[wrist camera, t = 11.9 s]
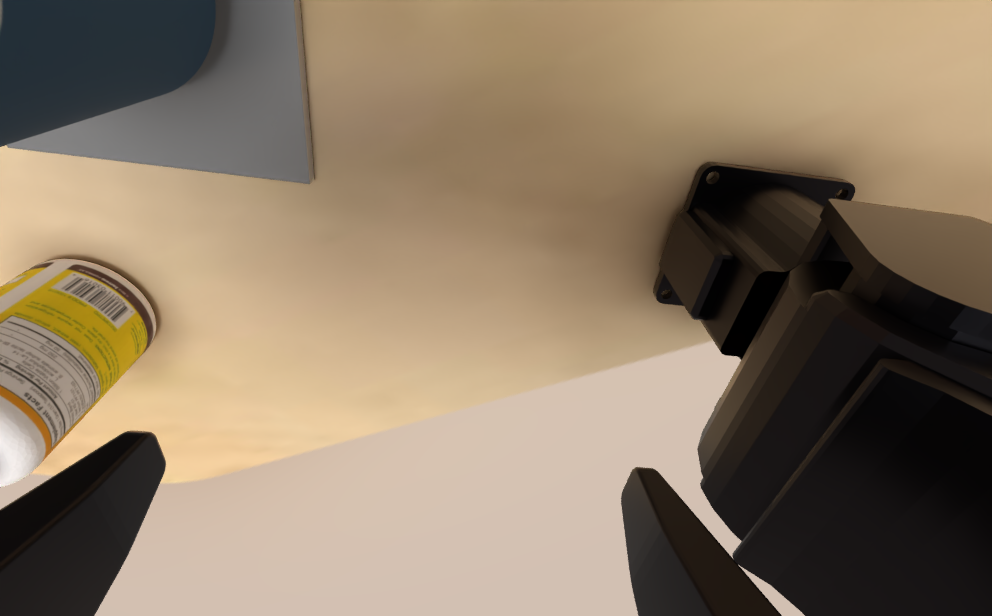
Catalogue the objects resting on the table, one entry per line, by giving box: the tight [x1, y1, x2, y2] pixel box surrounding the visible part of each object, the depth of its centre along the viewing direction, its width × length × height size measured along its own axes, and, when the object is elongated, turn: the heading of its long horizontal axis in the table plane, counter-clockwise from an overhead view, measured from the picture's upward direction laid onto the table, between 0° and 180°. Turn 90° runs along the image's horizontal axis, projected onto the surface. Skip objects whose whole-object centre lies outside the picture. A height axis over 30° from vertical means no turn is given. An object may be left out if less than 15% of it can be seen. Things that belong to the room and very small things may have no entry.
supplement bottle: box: [0, 259, 156, 487], centre depth 18 cm, size 6×6×10 cm
